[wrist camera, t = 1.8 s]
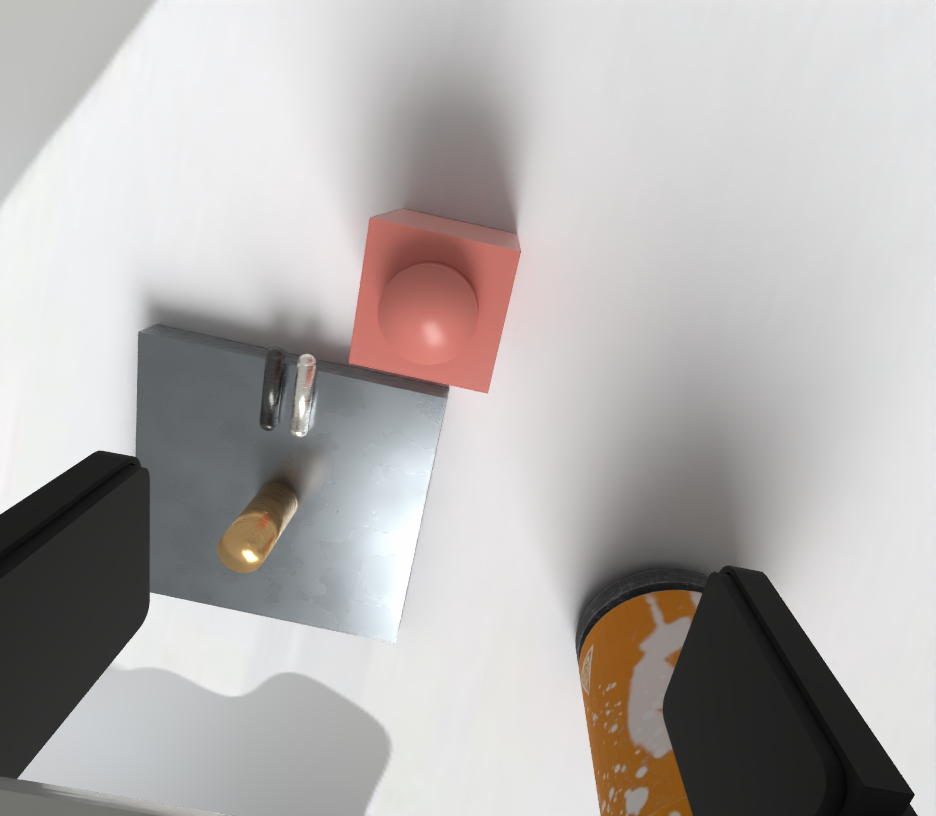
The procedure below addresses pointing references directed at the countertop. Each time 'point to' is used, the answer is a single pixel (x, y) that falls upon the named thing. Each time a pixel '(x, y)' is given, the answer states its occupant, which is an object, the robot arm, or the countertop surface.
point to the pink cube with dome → (433, 298)
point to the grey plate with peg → (283, 480)
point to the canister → (635, 688)
